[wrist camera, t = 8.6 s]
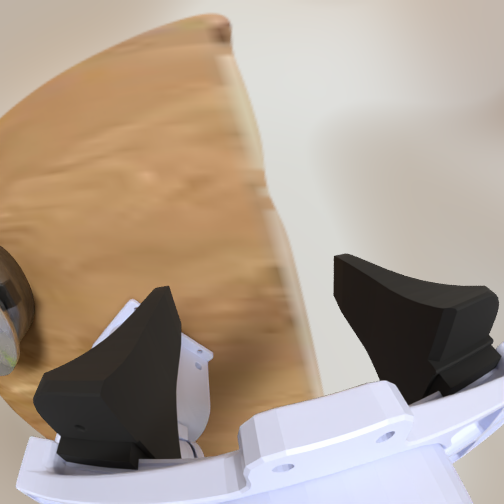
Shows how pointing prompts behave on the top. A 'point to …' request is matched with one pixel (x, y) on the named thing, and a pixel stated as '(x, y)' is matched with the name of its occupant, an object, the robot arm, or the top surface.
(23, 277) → the cooker pot
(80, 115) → the top surface
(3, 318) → the cooker lid
